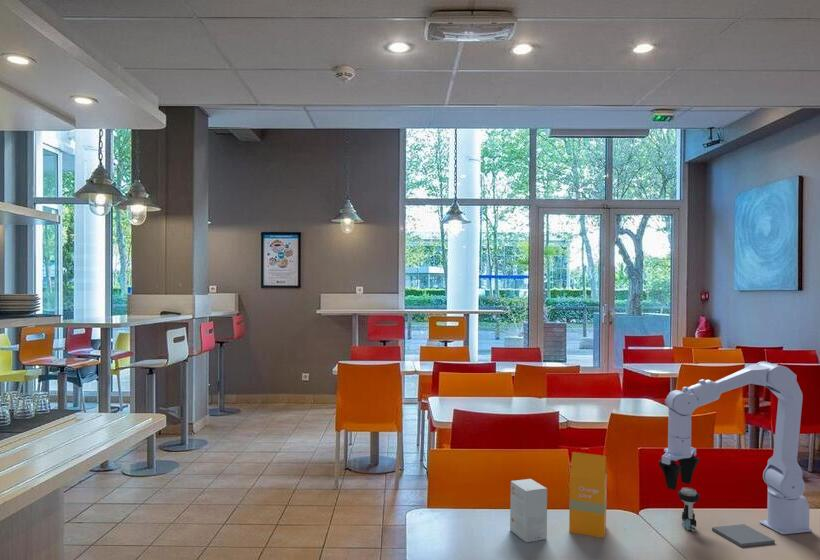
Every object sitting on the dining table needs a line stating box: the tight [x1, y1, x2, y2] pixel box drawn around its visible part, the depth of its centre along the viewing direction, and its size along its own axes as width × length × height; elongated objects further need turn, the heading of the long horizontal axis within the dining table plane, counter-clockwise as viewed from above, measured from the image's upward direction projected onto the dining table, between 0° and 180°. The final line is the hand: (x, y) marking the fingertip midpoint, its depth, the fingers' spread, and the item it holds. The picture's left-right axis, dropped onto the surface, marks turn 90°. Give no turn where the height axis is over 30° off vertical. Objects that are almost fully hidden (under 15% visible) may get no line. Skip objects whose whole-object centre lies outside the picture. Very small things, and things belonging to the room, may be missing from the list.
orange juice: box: [568, 451, 608, 538], centre depth 158 cm, size 8×9×20 cm
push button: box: [677, 486, 701, 532], centre depth 159 cm, size 7×5×10 cm
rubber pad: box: [711, 523, 776, 548], centre depth 154 cm, size 10×10×1 cm
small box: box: [509, 478, 548, 543], centre depth 154 cm, size 8×6×13 cm
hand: (678, 485), depth 162 cm, fingers open, 7 cm apart
